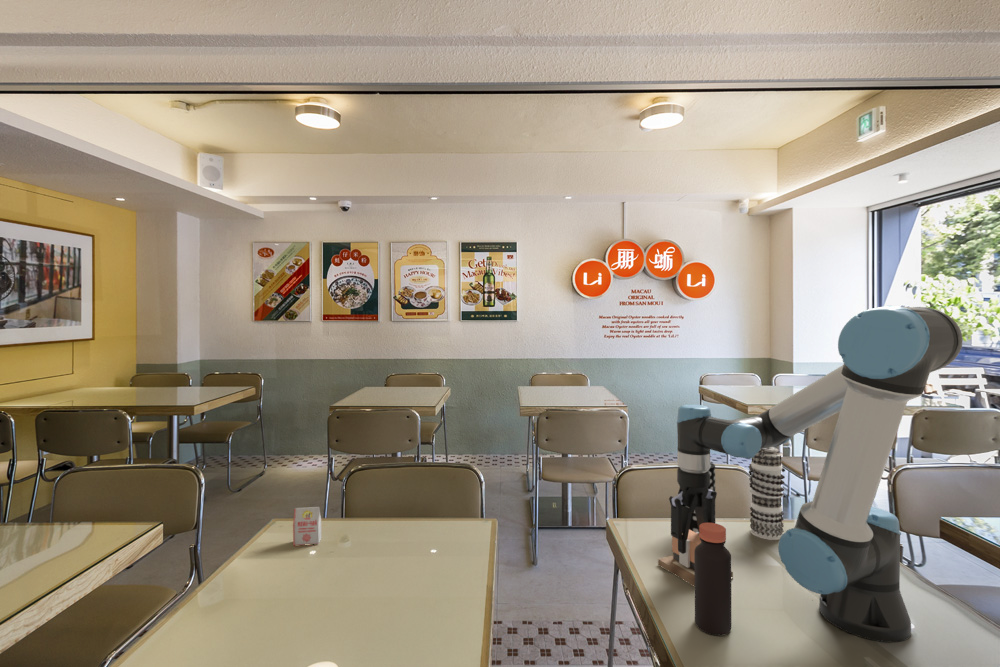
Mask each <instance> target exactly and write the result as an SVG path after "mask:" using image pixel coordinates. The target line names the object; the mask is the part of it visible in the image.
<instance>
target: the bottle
mask: <svg viewBox="0 0 1000 667" xmlns="http://www.w3.org/2000/svg"><path fill="white" fill-rule="evenodd" d="M699 536H700V540H701V543H700V544H699V545H698V546H696V548H695V551H694V560H695V587H694V622H695V625H696V626H697V627H698V629H699V630H701V631H702V632H704V633H707V634H709V635H712V634H713V636H725V635H728V634H730V632H732V579H731V571H732V554H731V552H730V551H729V550H728V548H727V547H726V546H725V544H726V540H727V528H726V527H725V526H723V525H721V524H718V523H716V522H715V523H702V524H700V525H699Z"/></svg>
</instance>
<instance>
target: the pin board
mask: <svg viewBox="0 0 1000 667" xmlns="http://www.w3.org/2000/svg"><path fill="white" fill-rule="evenodd" d="M657 562H658V563H657V565H658V566H659V565H660V566H659V567H661V566H662V567H663V569H664V568H665V569H664V570H666V569H667V570H666V571H668V570H669V571H670V572H669V571H668V572H669V573H671V572H672V574H673V573H674V574H676V575H677V576H676V575H675V576H676V577H678V576H679V577H680V579H681V578H682V579H681V580H683V579H684V580H685V581H684V580H683V581H684V582H686V581H687V582H686V583H688V582H689V583H690V584H689V583H688V584H689V585H691V584H692V585H691V586H693V585H694V586H695V563H693V562H691V561H690V567H689V568H687V567H685V566H684V565H682V564H680V563H679V555H678V554H676V553H674V552H673V551H672V555H669V556H665V557H661V558H658V559H657ZM662 567H661V568H662ZM674 574H673V575H674ZM733 576H734V572H733V571H732V570H731V577H733ZM679 577H678V578H679ZM733 578H734V577H733ZM694 586H693V587H694Z"/></svg>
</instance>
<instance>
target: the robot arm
mask: <svg viewBox="0 0 1000 667" xmlns="http://www.w3.org/2000/svg"><path fill="white" fill-rule="evenodd" d="M961 330H962V329H961V328H960V326H959V325H958V323H957V322H956V321H955V320H954V319H953V318H952V317H951V316H949V315H948V314H947V313H945V312H943V311H941V310H938V309H935V308H931V307H926V306H925V307H924V306H913V307H911V306H895V305H885V306H884V305H883V306H879V307H875V308H870V309H866V310H863V311H862V312H859V313H857V314H856V315H854V316H853V317H852V318H850V319H849V320H848V321H847V322H846V323H845V325H844V326H843V327H842V330H841V331H840V333H839V336H838V341H837V348H838V354H839V356H841V359H842V362H843V364H842V365H841V366H839V367H836V369H834V370H832V371H830V372H829V373H827V374H825V375H824V376H822V377H821V378H818V379H817V380H815V381H814V382H812V383H810V384H809V385H807V386H805V387H803V388H802V389H800V390H798V391H797V392H795V393H793V394H792V395H790V396H789V397H787V398H785V399H783V400H782V401H780V402H778V403H777V404H774V406H772V407H771V408H769V409H767V410H765V411H764V412H762V413H760V414H758V415H755V416H749V417H742V418H736V419H723V418H717V417H714V416H712V413H711V408H710V407H709V406H706V405H702V404H683V405H680V406H679V408H678V410H677V418H676V419H677V420H676V425H677V426H676V428H677V431H676V432H677V452H676V453H677V454H676V455H677V460H676V461H677V463H676V464H677V466H678V468H677V469H676V470H677V471H676V472H677V473H676V477H677V478H676V479H677V480H676V482H677V484H678V485H679V489H678V492H677V495H675V496H669V499H668V500H669V503H670V536H671V537H672V536H673V537H675V538H677V539H678V551H679V563H680V564H682V565H684V566H685V567H687V568H689V567H690V540H688V533H689V528H690V522H691V517H692V513H694V510H695V514H696V519H697V524H698V530H699V525H700V524H702V523H716V499H717V494H718V493H717V491H716V490H715V491H713V490H710V489H708V488H707V487H709V486H710V471H709V469H710V463H711V451H715V452H719V453H722V454H726V455H728V456H731V457H733V458H743V459H752V458H753V457H754V456H755V454H757V453H758V452H759V451H760V449H763V448H768V447H776V448H777V447H779V446H781V445H784V444H786V443H788V442H789V441H790V440H791V438H792V437H794V436H795V435H796V434H799V433H801V432H803V431H804V430H806V429H808V428H810V427H812V426H814V425H816V424H819V423H821V422H822V421H824V420H826V419H828V418H830V417H832V416H833V415H836V414H838V418H837V421H836V423H835V428H834V431H833V434H832V436H831V441H830V443H829V447H828V450H827V453H826V456H825V460H824V463H823V466H822V469H821V472H820V476H819V479H818V483H817V486H816V489H815V493H814V494H813V499H812V501H808V502H804V503H802V505H801V507H800V509H799V512H798V514H797V519H796V521H795V525H794V527H793V528H789V529H787V530H785V531H784V532H783V533H782V534H783V535H782V536H781V538H780V539H779V540H778V555H779V558H780V561H781V563H782V564H783V565H784V567H785V571H786V572H787V573H788V574H789V576H790V577H791V578H792V579H793V580H794V581H795V582H796V583H798V584H799V585H800V587H803V588H804V589H806V590H807V591H809V592H812V593H815V594H820V596H819V603H818V604H819V607H818V608H819V611H820V614H821V615H822V616H823V618H824V619H826V621H828V622H829V623H831V624H832V625H834V626H835V627H836V628H838V629H841V630H842V631H845V632H847V633H850V634H852V635H853V636H857V637H861V638H864V639H867V640H871V641H872V640H873V641H877V642H886V643H896V642H897V643H898V642H904V641H905V640H908V639H909V638H910V637H911V635H912V622H911V618H910V615H909V613H908V609H907V606H906V604H905V601H904V598H903V596H902V593H901V588H900V587H901V586H900V585H901V584H900V580H901V579H900V576H901V572H900V571H901V570H900V568H901V565H900V564H901V535H902V532H901V531H900V521H899V519H898V517H897V516H896V515H895V514H893V513H891V512H889V511H887V510H886V509H882V508H879V507H875V506H873V505H874V504H873V503H874V501H875V498H876V495H877V492H878V488H879V486H880V483H881V481H882V478H883V475H884V472H885V468H886V466H887V463H888V460H889V456H890V453H891V451H892V448H893V444H894V442H895V440H896V436H897V433H898V431H899V427H900V425H901V421H902V419H903V416H904V413H905V410H906V406H907V404H908V402H909V401H911V400H913V399H917V398H919V397H921V396H922V395H923V394H924V391H925V388H926V385H927V383H928V379H929V376H930V373H933V372H935V371H939V370H941V369H943V368H945V367H947V366H948V365H950V364H951V363H952V362H953V361H955V360H956V358H957V357H958V356H959V354H960V353H961V350H962V347H963V341H964V340H963V334H962V331H961ZM686 506H687V507H686ZM688 507H689V508H688ZM696 533H698V534H699V532H696Z"/></svg>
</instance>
